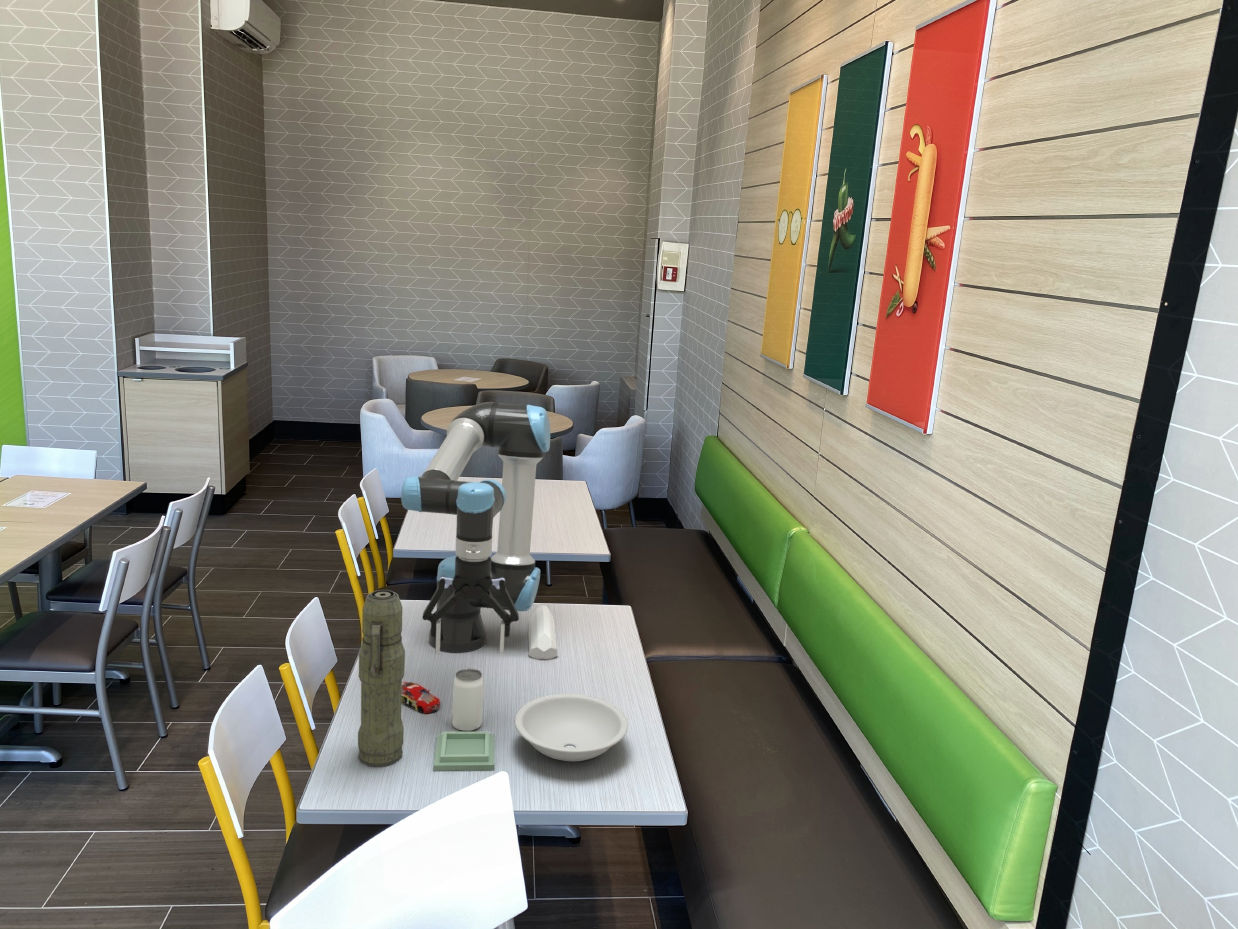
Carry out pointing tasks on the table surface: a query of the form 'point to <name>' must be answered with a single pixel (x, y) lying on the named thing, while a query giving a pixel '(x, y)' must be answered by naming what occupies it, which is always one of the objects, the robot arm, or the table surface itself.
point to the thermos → (381, 680)
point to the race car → (419, 698)
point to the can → (467, 700)
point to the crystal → (542, 634)
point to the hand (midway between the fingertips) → (469, 650)
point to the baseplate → (464, 751)
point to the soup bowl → (571, 726)
